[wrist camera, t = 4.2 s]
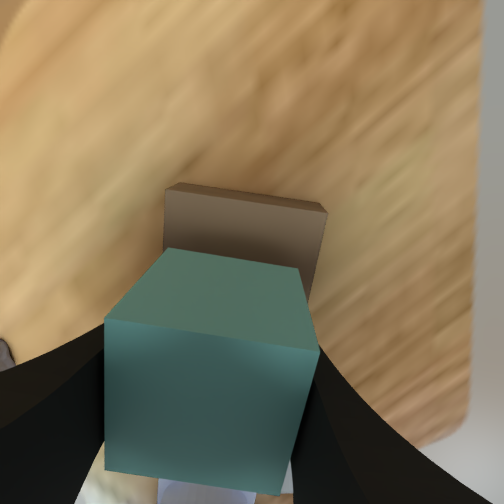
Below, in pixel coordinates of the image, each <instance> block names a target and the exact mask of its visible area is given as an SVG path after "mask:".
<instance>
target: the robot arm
mask: <svg viewBox="0 0 504 504" xmlns="http://www.w3.org/2000/svg"><path fill="white" fill-rule="evenodd" d="M318 345H319V344H318ZM319 349H320V355H319V358H318V362H317V365H316V369H315V372H314V376H313V380H312V383H311V387H310V390H309V394H308V397H307V401H306V404H305V408H304V411H303V415H302V419H301V422H300V426H299V429H298V433H297V436H296V440H295V443H294V447H293V451H292V454H291V458H290V463H291V471H292V482H293V502H294V504H492V503H491V502H489V501H488V500H486V499H484V498H483V497H482V496H480V495H479V494H477V493H476V492H474V491H473V490H471V489H470V488H468V487H466V486H465V485H464V484H462V483H461V482H459V481H458V480H456V479H455V478H454V477H453V476H451V475H450V474H449V473H447V472H446V471H444V470H443V469H442V468H440V467H439V466H438V465H436V464H435V463H434V462H432V461H431V460H430V459H428V458H427V457H426V456H425V455H424V454H422V453H421V452H420V451H418V450H417V449H416V448H415V447H414V446H413V445H411V444H410V443H409V442H408V441H407V440H405V439H404V438H403V437H402V436H401V435H400V434H398V433H397V432H396V431H395V430H394V429H393V428H392V427H391V426H389V425H388V424H387V423H386V422H385V421H384V420H383V419H382V418H381V417H380V416H379V415H378V414H377V413H376V412H375V411H374V410H373V409H372V408H371V407H370V406H369V405H368V404H367V403H366V402H365V401H364V400H363V399H362V398H361V397H360V396H359V395H358V393H357V392H356V391H355V390H354V389H353V388H352V387H351V385H350V384H349V383H348V382H347V381H346V380H345V378H344V377H343V376H342V375H341V374H340V372H339V371H338V370H337V368H336V367H335V366H334V365H333V363H332V362H331V361H330V359H329V358H328V357H327V355H326V354H325V353H324V351H323V350H322V348H321V347H320V346H319ZM104 441H105V423H104V323H103V324H101V325H100V326H98V327H96V328H94V329H93V330H91V331H89V332H87V333H85V334H84V335H82V336H80V337H78V338H76V339H74V340H72V341H70V342H68V343H66V344H64V345H62V346H60V347H58V348H56V349H54V350H52V351H50V352H48V353H45V354H43V355H41V356H39V357H36V358H34V359H32V360H29V361H27V362H24V363H22V364H20V365H17V366H15V367H12V368H9V369H7V370H4V371H1V372H0V504H74V503H75V500H76V499H77V496H78V494H79V492H80V490H81V487H82V485H83V483H84V481H85V479H86V477H87V474H88V472H89V470H90V468H91V466H92V464H93V461H94V459H95V457H96V456H97V454H98V452H99V450H100V448H101V446H102V444H103V442H104ZM256 494H257V493H254V492H248V491H241V490H234V489H228V488H221V487H214V486H207V485H201V484H194V483H187V482H181V481H174V480H167V479H160V478H159V480H158V495H157V504H254V503H255V498H256Z"/></svg>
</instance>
